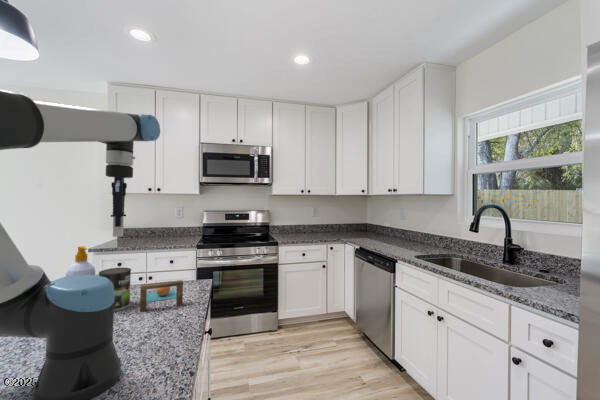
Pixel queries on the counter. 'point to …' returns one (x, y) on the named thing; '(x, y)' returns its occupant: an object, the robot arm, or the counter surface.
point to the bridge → (160, 285)
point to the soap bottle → (81, 264)
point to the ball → (163, 291)
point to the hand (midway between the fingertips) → (118, 236)
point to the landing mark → (155, 297)
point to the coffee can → (119, 285)
